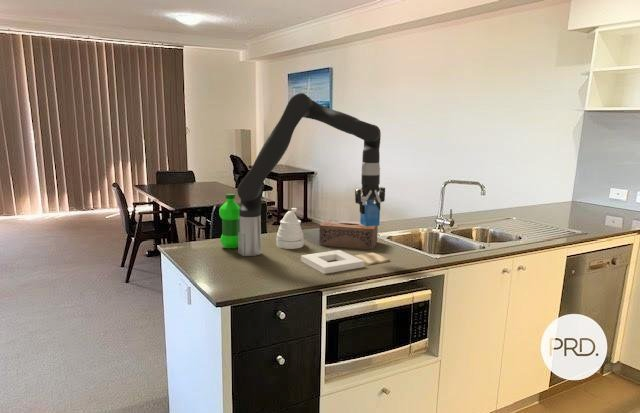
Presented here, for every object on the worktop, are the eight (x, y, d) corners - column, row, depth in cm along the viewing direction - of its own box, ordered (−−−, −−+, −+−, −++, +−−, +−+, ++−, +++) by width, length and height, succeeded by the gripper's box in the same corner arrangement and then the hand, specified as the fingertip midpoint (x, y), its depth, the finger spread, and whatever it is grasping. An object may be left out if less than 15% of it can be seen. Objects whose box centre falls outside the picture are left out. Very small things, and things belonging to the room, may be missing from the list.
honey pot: (305, 242, 218) (305, 206, 215) (301, 249, 205) (301, 211, 202) (279, 241, 219) (279, 205, 216) (274, 248, 207) (273, 210, 204)
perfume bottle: (365, 226, 184) (365, 197, 182) (360, 223, 189) (360, 195, 187) (379, 225, 185) (380, 197, 183) (373, 222, 191) (374, 194, 189)
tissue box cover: (377, 242, 221) (377, 222, 219) (372, 250, 207) (373, 229, 205) (326, 238, 228) (327, 219, 226) (319, 245, 214) (319, 225, 212)
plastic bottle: (230, 251, 200) (229, 196, 196) (215, 247, 206) (213, 194, 202) (247, 247, 208) (246, 194, 204) (231, 243, 214) (230, 192, 210)
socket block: (324, 273, 171) (324, 267, 170) (300, 261, 187) (301, 255, 186) (364, 266, 180) (364, 261, 180) (339, 255, 196) (339, 249, 196)
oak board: (367, 265, 183) (367, 263, 183) (350, 257, 193) (350, 255, 193) (390, 261, 189) (390, 259, 189) (372, 254, 199) (373, 252, 199)
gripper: (379, 172, 190) (378, 210, 193) (351, 173, 183) (350, 213, 186) (390, 173, 184) (389, 212, 187) (361, 175, 177) (361, 216, 180)
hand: (369, 212), depth 187 cm, fingers closed on perfume bottle, 7 cm apart
